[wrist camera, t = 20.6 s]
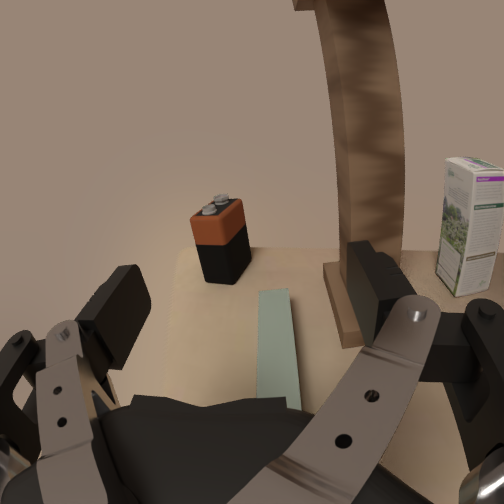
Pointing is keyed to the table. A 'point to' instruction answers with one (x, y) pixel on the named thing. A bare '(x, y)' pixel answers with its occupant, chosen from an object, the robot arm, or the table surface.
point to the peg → (277, 349)
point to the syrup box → (470, 224)
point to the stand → (362, 138)
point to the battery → (221, 239)
